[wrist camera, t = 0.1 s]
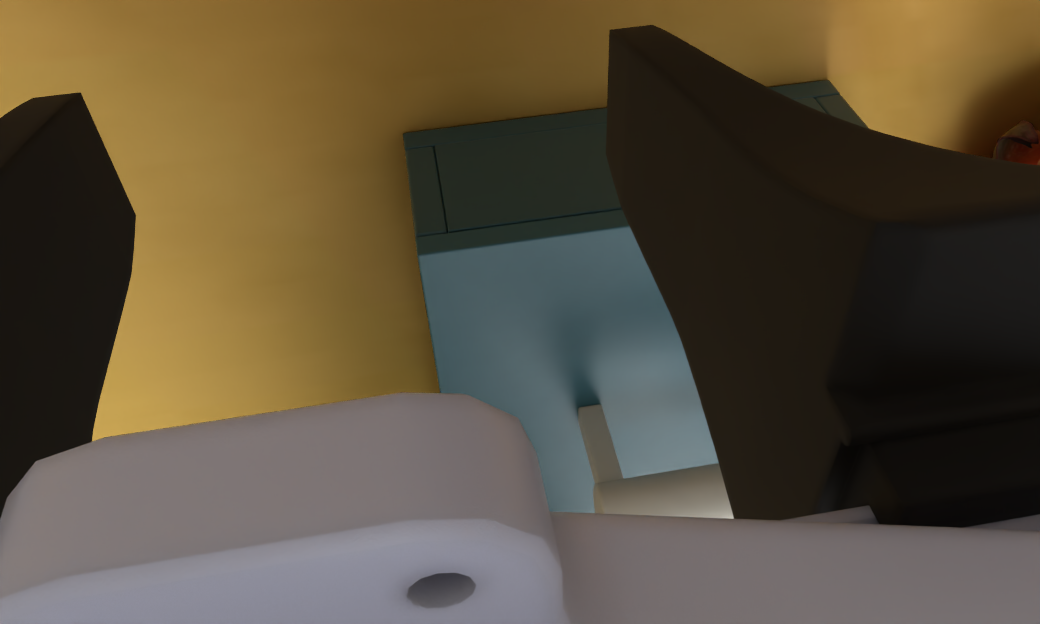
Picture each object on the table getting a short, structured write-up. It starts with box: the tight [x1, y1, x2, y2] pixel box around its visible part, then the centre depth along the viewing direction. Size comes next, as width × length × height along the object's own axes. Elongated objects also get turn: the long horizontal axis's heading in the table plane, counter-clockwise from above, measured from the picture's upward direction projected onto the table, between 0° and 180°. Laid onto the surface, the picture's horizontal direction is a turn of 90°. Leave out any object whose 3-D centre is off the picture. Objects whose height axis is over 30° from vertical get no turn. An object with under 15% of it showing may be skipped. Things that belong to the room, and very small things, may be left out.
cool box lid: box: [415, 209, 734, 519], centre depth 24 cm, size 13×12×5 cm
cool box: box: [403, 80, 869, 239], centre depth 27 cm, size 12×12×5 cm
